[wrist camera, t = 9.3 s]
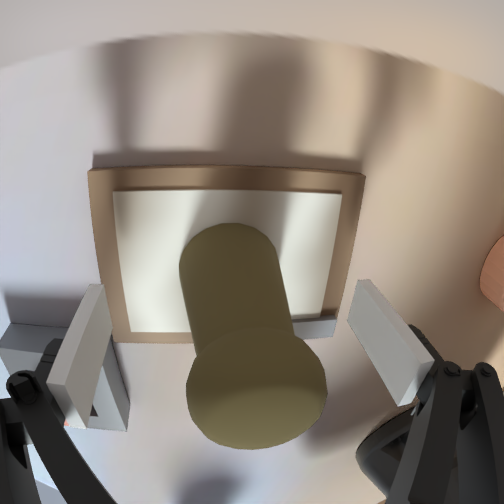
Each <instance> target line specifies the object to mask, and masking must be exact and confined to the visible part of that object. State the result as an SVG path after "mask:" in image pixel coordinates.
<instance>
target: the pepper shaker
mask: <svg viewBox="0 0 504 504" xmlns="http://www.w3.org/2000/svg"><path fill="white" fill-rule="evenodd" d="M179 279H180V283H181V288H182V293H183V298H184V303H185V307H186V312H187V317H188V321H189V325H190V330H191V334H192V338H193V343H194V347H195V351H196V355H197V357H196V358H195V360H194V362H193V365H192V368H191V370H190V373H189V376H188V380H187V383H186V397H187V404H188V409H189V412H190V415H191V418H192V420H193V422H194V423H195V424H196V425H197V427H198V428H199V429H200V430H201V431H202V432H203V434H204V435H205V436H206V437H207V438H208V439H210V440H212V441H214V442H215V443H217V444H219V445H223V446H227V447H231V448H235V449H249V450H255V449H263V448H269V447H273V446H277V445H280V444H283V443H285V442H288V441H290V440H292V439H294V438H296V437H298V436H299V435H300V434H302V433H303V432H305V431H306V430H307V429H309V428H310V427H311V426H312V425H313V424H314V423H315V422H316V421H317V420H318V418H319V417H320V416H321V413H322V410H323V408H324V405H325V401H326V398H327V394H328V393H327V384H326V378H325V372H324V368H323V366H322V364H321V362H320V360H319V358H318V357H317V356H316V354H315V353H314V352H313V351H312V350H311V348H310V347H309V346H308V345H307V344H306V343H305V342H304V341H303V340H302V339H301V338H299V337H297V336H295V333H294V328H293V324H292V319H291V314H290V310H289V305H288V300H287V296H286V291H285V287H284V282H283V278H282V273H281V269H280V264H279V260H278V256H277V252H276V248H275V247H274V245H273V244H272V242H271V241H270V240H269V238H268V237H267V236H266V235H265V234H263V233H262V232H260V231H259V230H257V229H256V228H254V227H251V226H248V225H244V224H241V223H221V224H218V225H215V226H212V227H209V228H206V229H204V230H203V231H201V232H200V233H199V234H197V235H196V236H194V237H193V238H192V239H191V240H190V242H189V243H188V244H187V246H186V247H185V248H184V250H183V252H182V255H181V258H180V262H179Z"/></svg>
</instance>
